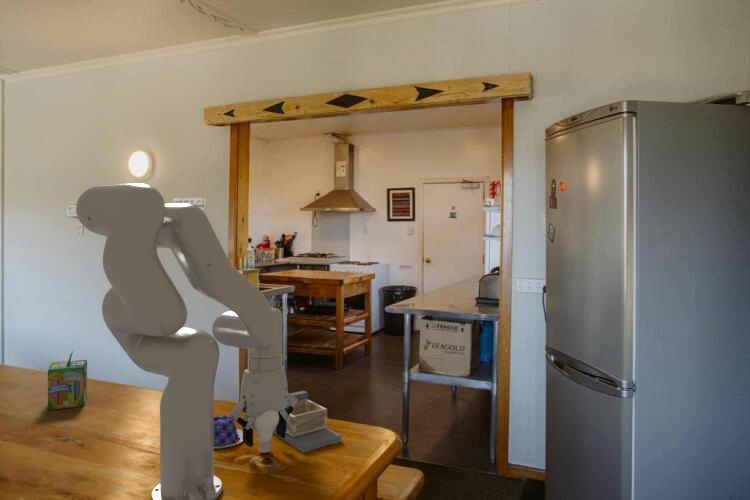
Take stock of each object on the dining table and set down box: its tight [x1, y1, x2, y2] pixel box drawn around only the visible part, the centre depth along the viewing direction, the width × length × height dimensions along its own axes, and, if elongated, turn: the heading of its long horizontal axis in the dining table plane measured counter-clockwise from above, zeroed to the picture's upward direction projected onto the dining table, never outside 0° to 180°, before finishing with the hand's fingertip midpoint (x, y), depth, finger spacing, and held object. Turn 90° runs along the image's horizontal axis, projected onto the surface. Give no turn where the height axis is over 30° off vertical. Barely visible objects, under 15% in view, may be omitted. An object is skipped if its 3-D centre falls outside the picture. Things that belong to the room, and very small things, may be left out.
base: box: [273, 390, 342, 454], centre depth 125 cm, size 18×10×8 cm, turn 39°
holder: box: [286, 399, 328, 437], centre depth 127 cm, size 10×10×5 cm
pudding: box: [214, 415, 243, 449], centre depth 123 cm, size 12×12×5 cm
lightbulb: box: [251, 410, 279, 454], centre depth 115 cm, size 6×6×11 cm
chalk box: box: [47, 351, 88, 411], centre depth 146 cm, size 9×9×15 cm
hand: (265, 439), depth 115 cm, fingers open, 7 cm apart
